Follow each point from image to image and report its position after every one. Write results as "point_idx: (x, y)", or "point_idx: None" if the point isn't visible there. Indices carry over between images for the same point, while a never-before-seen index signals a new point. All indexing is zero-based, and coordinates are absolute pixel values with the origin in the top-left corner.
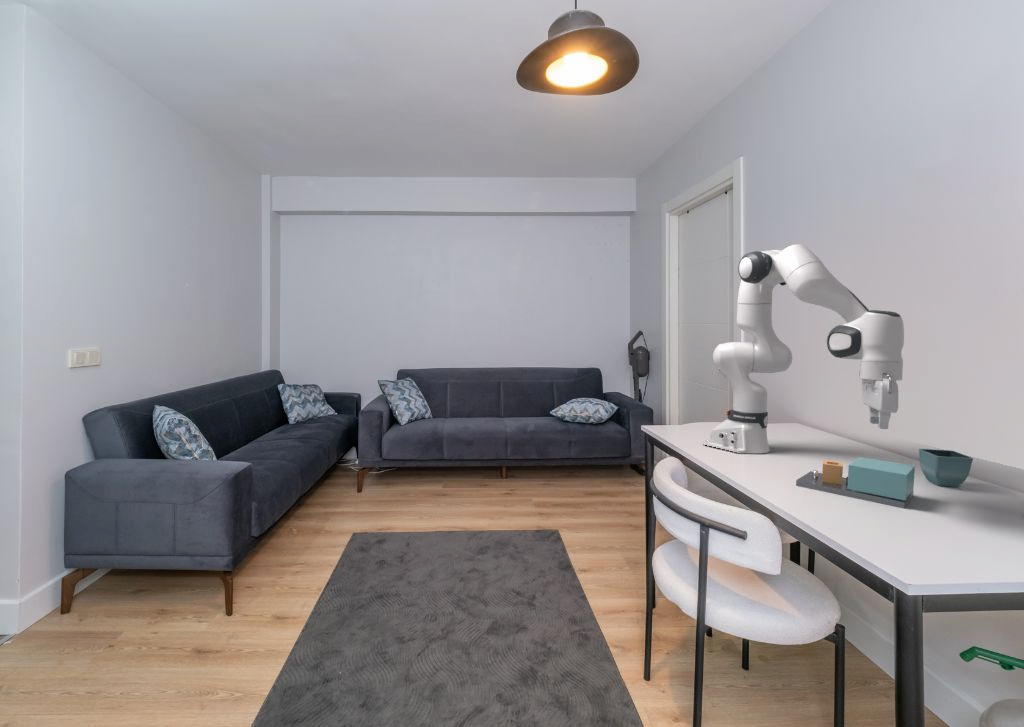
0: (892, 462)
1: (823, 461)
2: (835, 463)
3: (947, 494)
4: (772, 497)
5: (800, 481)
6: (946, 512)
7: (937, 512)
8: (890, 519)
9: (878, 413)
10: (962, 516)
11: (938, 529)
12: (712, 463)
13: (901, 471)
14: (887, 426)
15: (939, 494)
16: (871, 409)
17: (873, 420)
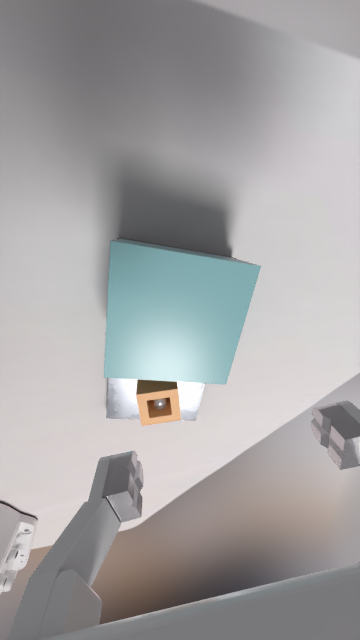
0: (111, 302)
1: (154, 423)
2: (147, 403)
3: (24, 151)
4: (278, 419)
5: (196, 414)
6: (211, 176)
7: (223, 196)
8: (311, 278)
9: (83, 533)
10: (224, 144)
11: (333, 205)
12: (143, 514)
13: (224, 278)
14: (357, 411)
15: (44, 173)
16: (99, 601)
17: (135, 484)
